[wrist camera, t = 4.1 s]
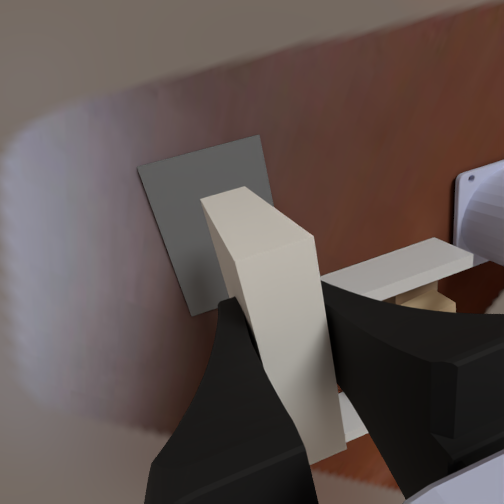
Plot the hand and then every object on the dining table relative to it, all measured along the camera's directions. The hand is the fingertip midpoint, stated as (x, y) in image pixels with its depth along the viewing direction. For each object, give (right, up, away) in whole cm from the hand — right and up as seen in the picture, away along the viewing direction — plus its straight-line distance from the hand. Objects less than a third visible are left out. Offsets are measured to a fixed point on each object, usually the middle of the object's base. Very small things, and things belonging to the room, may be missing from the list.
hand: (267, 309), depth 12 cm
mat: (-2, +3, +8) cm, 10 cm away
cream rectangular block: (-1, +1, +4) cm, 4 cm away
